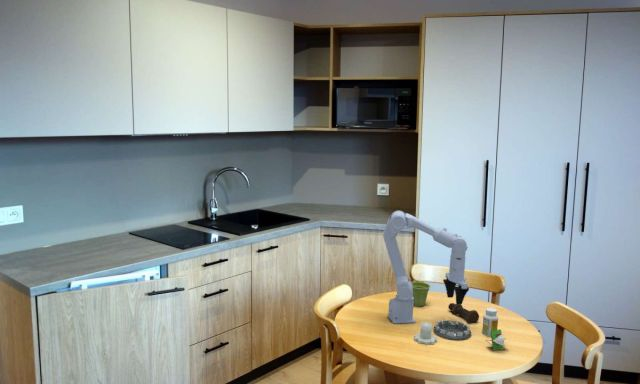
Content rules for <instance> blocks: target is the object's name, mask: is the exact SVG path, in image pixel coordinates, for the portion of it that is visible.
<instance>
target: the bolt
mask: <svg viewBox="0 0 640 384" xmlns="http://www.w3.org/2000/svg"><path fill="white" fill-rule="evenodd" d="M447 307H448V309H449V310H450V311H451V312H452V314H454V315H455V316H461V317H463V318H465V319H466V322H467V323H468V324H470V325H471V324H477V322H478V321H479V318H480V314H479V312H478V311H477V310H476V309H471V310H469V309H466V308H465V307H464V306H463V304H456V303H455V302H451V303H449V305H448V306H447Z"/></svg>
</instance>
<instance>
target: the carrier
mask: <svg viewBox="0 0 640 384" xmlns="http://www.w3.org/2000/svg"><path fill="white" fill-rule="evenodd" d="M469 326H470V325H468V324H465V323H464V322H463V321H458V322H457V320H452V319H451V320H449V319H444V320H439V321H436V322H435V325H434V326H433V333H434V334H435V336H436V337H439V338H442V339H446V340H449V341H450V340H451V341H466V340H469V339H470V338H471V337H472V331H471V330H470V328H471V327H469Z"/></svg>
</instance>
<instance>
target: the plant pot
mask: <svg viewBox="0 0 640 384" xmlns="http://www.w3.org/2000/svg"><path fill="white" fill-rule="evenodd" d="M411 282H412V284H413V297H414V303H413V306H415V307H423V306H426V302H427V298H428V294H429V291H430V289H431V284H429V283H426V282H423V281H411Z"/></svg>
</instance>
